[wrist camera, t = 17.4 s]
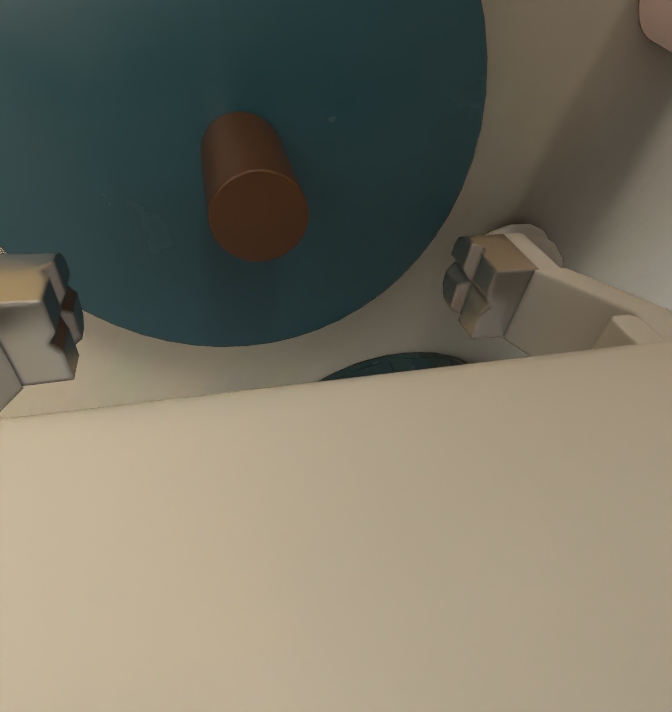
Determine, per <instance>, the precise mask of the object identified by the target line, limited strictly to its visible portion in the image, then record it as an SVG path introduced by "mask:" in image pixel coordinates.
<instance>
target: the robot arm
mask: <svg viewBox="0 0 672 712" xmlns="http://www.w3.org/2000/svg"><path fill="white" fill-rule="evenodd" d="M451 254H452V256H453V259H454V261H455V262H454V263H453V264H452V265H451V266H450V267H449V268H448V269H447V270H446V273H445V277H444V280H443V294H444V298H445V301H446V303H447V304H448V306H449V307H450V309H452V310H454V311H456V312H458V313H459V314H460V317H459V320H458V321H459V322H460V323H461V325H462V326H463V328H464V329H465V331H466V332H467V333H468V335H469V336H470V338H471V339H475V338H489V337H502V336H504V339H506V340H507V341H509V342H510V343H512V344H513V345H515V346H516V347H517V348H519V349H520V350H522V351H523V352H525V353H526V354H528V355H529V356H531V357H523V358H515V359H506V360H498V361H489V362H481V363H473V364H464V365H456V366H447V367H439V368H430V369H422V370H413V371H405V372H396V373H388V374H379V375H371V376H362V377H354V378H345V379H337V380H328V381H320V382H311V383H303V384H294V385H286V386H277V387H269V388H260V389H252V390H244V391H235V392H227V393H218V394H210V395H201V396H193V397H184V398H176V399H167V400H159V401H150V402H142V403H133V404H125V405H116V406H108V407H99V408H91V409H82V410H74V411H65V412H57V413H48V414H40V415H31V416H23V417H14V418H6V419H0V712H672V312H671V311H670V310H668V309H666V308H663V307H661V306H658V305H656V304H653V303H651V302H648V301H646V300H643V299H641V298H639V297H636V296H634V295H631V294H629V293H626V292H624V291H621V290H619V289H616V288H614V287H611V286H609V285H606V284H604V283H601V282H599V281H597V280H594V279H592V278H589V277H587V276H584V275H582V274H579V273H577V272H574V271H572V270H569V269H567V268H559V267H558V266H557V265H556V264H555V263H554V262H553V261H552V260H551V259H550V258H549V257H548V256H547V255H546V254H545V253H543V252H542V251H541V250H540V249H539V248H538V247H537V246H536V245H535V244H534V243H533V242H532V241H531V240H530V239H529V238H527V237H526V236H525V235H524V234H521V233H508V234H493V235H479V236H465V237H459V238H458V240H457V241H456V243H455V244H454V247H453V250H452V253H451ZM69 277H70V270H69V267H68V265H67V262H66V260H65V257H64V256H63V255H62V254H61V253H60V252H51V253H7V254H0V411H1V410H2V409H3V408H4V407H5V406H6V405H7V404H8V403H9V402H10V401H11V400H12V399H13V398H14V397H15V396H16V395H17V394H18V393H19V392H20V391H21V390H22V389H23V387H22V386H27V385H35V384H43V383H51V382H59V381H67V380H74V378H75V373H76V368H77V363H78V358H79V353H78V351H77V348H76V344H77V343H78V342H79V341H80V340H82V337H83V331H84V321H83V311H82V306H81V302H80V299H79V296H78V293H77V292H76V291H75V290H73V289H72V288H71V287H69V286H68V281H69Z"/></svg>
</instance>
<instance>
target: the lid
mask: <svg viewBox="0 0 672 712" xmlns="http://www.w3.org/2000/svg"><path fill="white" fill-rule="evenodd" d="M486 80H487V46H486V33H485V20H484V13H483V8H482V3H481V0H0V247H1V248H2V249H3V250H4V251H5V252H6V253H51V252H60V253H61V254H62V255H63V256H64V257H65V260H66V262H67V265H68V267H69V270H70V277H69V281H68V286H69V287H71V288H72V289H73V290H75V291H76V292H77V293H78V296H79V299H80V302H81V306H82V310H84V311H86V312H88V313H90V314H92V315H94V316H96V317H99V318H101V319H103V320H105V321H107V322H109V323H111V324H113V325H116V326H119V327H122V328H125V329H127V330H130V331H133V332H136V333H139V334H141V335H145V336H149V337H153V338H157V339H161V340H165V341H169V342H176V343H182V344H189V345H196V346H213V347H234V346H251V345H258V344H266V343H272V342H277V341H281V340H285V339H290V338H294V337H297V336H300V335H303V334H306V333H309V332H312V331H315V330H318V329H320V328H323V327H325V326H327V325H329V324H332V323H334V322H336V321H338V320H340V319H342V318H344V317H346V316H348V315H349V314H351V313H353V312H355V311H356V310H358V309H360V308H362V307H363V306H364V305H366V304H367V303H369V302H370V301H372V300H373V299H374V298H376V297H377V296H379V295H380V294H381V293H383V292H384V291H385V290H386V289H387V288H388V287H390V286H391V285H392V284H393V283H394V282H395V281H397V280H398V279H399V278H400V277H401V276H402V275H403V274H404V273H405V272H406V271H407V270H408V269H409V268H410V267H411V266H412V265H413V264H414V262H415V261H416V260H417V259H418V258H419V257H420V256H421V254H422V253H423V252H424V250H425V249H426V248H427V247H428V245H429V244H430V243H431V242H432V240H433V239H434V238H435V236H436V234H437V233H438V231H439V230H440V228H441V227H442V225H443V223H444V222H445V220H446V219H447V217H448V215H449V214H450V212H451V210H452V208H453V206H454V204H455V202H456V200H457V198H458V196H459V194H460V192H461V190H462V187H463V185H464V182H465V179H466V177H467V174H468V171H469V169H470V166H471V163H472V160H473V157H474V153H475V149H476V145H477V142H478V138H479V134H480V130H481V125H482V118H483V111H484V104H485V97H486Z"/></svg>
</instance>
